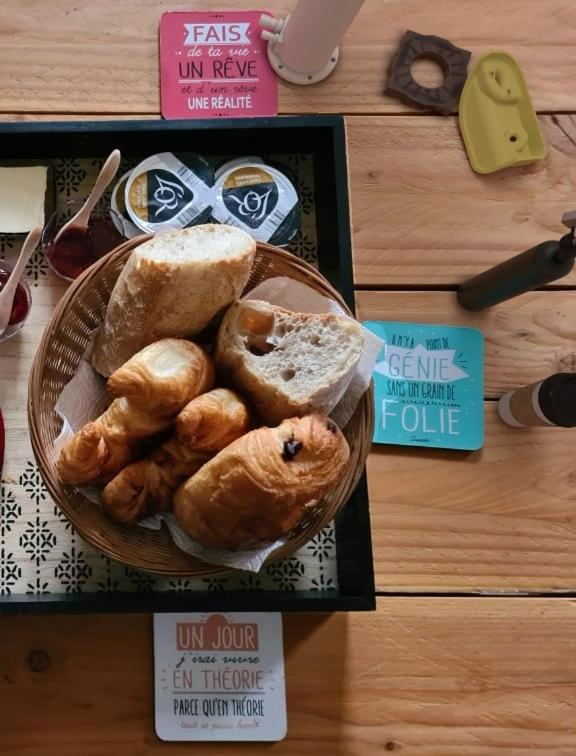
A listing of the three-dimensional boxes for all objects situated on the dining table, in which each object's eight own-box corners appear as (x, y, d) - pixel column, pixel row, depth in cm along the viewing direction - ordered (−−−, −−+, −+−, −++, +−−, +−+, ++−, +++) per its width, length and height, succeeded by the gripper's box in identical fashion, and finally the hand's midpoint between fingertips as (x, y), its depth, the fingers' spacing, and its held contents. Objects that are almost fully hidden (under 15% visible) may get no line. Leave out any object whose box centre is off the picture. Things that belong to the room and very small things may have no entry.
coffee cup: (550, 407, 122) (617, 396, 108) (519, 444, 121) (583, 438, 107) (510, 373, 123) (572, 358, 108) (479, 410, 122) (537, 399, 107)
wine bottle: (450, 287, 125) (572, 226, 96) (480, 274, 126) (610, 210, 96) (466, 317, 125) (593, 265, 95) (495, 304, 125) (631, 248, 95)
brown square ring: (378, 95, 130) (383, 89, 128) (400, 31, 132) (405, 24, 130) (449, 121, 130) (455, 115, 128) (470, 56, 132) (476, 50, 130)
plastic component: (549, 158, 126) (516, 160, 122) (507, 175, 133) (475, 178, 128) (517, 50, 128) (483, 48, 123) (477, 73, 134) (444, 72, 129)
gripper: (608, 203, 83) (509, 254, 101) (745, 254, 82) (620, 296, 100) (625, 145, 84) (524, 206, 102) (760, 194, 83) (634, 247, 101)
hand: (572, 250), depth 101 cm, fingers closed on wine bottle
